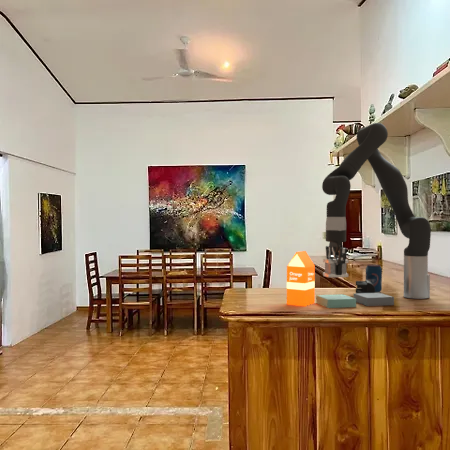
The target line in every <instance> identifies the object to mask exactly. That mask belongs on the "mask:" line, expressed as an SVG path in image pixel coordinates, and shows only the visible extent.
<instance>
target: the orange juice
mask: <svg viewBox="0 0 450 450" xmlns="http://www.w3.org/2000/svg"><path fill="white" fill-rule="evenodd" d="M315 266H316V265H315V264H314V262H313V260H312V259H311V257H310V256H309V255H308V253H307V251H306V250H302V251H296V252H295V253H294V255H293V257H292V258H291V260H290V261H289V262H288V264H287V265H286V305H289V306H297V307H307V305H308V306H310V304H311V305H313V304H315V303H316V302H315V299H316V296H315V293H316V292H315V291H316V290H315V287H316V285H315V284H316V283H315V281H316V280H315V278H316V277H315V276H316V274H315V270H316V268H315Z"/></svg>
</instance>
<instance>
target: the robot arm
mask: <svg viewBox="0 0 450 450" xmlns="http://www.w3.org/2000/svg"><path fill="white" fill-rule="evenodd" d="M388 135H389V134H388V129H387V127H386V126H385V124H383V123H381V122H374V123H371V124H369V125H367V126H364V127H362V128H360V129H358V130H357V131H356V141H357V144H358V146H357V147H356V148H355V149H354V150H352V151H351V152H350V153H349V154H347V156H346V157H344V159H343V160H342V162H341V163H340V164H339V166H337V168H335V169H334V170H332V171H331V172H330V173H329V174H327V176H325V178H324V180H322V181H323V182H322V185H321V188H322V189H321V190H322V191H323V193H324V194H326V195H328V196H335V197H334V199H333V200H331V201H328V202H327V203H326V217H325V218H326V221H325V241H326V242H328V243H329V244H328V245H326V246H325V255H326V256H325V259H335V260H336V275H342V265H343V264H345V261H346V259H347V251H348V248H347V247H344V245H343V243H345V242H346V241H347V219H346V215H347V214H346V213H347V212H346V211H347V210H346V206H347V202H348V200H349V197H350V192H351V188H352V187H351V186H352V185H351V180H352V179H354V177H356V175H357V173H358V172H359V171H360V169H361V168H362V167H363V165H364V164H366V161H368V163H369V164H370V166H371V169H372V170H373V172H374V174H375V175H376V178H377V181H378V182H379V185H380V187H381V189H382V191H383V193H384V194H385V197H386V198H387V201H388V203H389V205H390V207H391V209H392V212H393V214H394V216H395V218H396V223H397V224H398V228H399V230H400V232H401V234H402V235H403V236H404V237H405V238H406V239H408V245H407V246H406V247H405V248H404V250H403V297H404V298H408V299H418V300H421V299H422V300H423V299H429V298H430V297H431V296H430V295H431V291H430V290H431V282H430V281H431V276H430V274H428V273H429V272H428V271H429V270H428V269H429V268H428V264H429V261H428V260H429V257H428V256H429V250H430V248H431V236H432V231H431V230H432V227H431V224H430V222H429V220H428V219H427V218H425V217H422V216H416V215H415V214H414V213H413V210H412V209H411V206H410V204H409V203H410V202H409V196H408V195H409V192H408V185H407V183H406V180H405V179H404V176H403V174H402V173H401V171H400V169H399V168H398V167H396V166H395V165H394V164H392V163H391V162H390V161H388V160H387V159H386V158H385V157H384V156H383V155H382V154H381V152H380V150H379V148H380V147H382V146H383V144H385V142H386V141H387V139H388Z"/></svg>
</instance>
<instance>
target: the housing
mask: <svg viewBox="0 0 450 450" xmlns="http://www.w3.org/2000/svg"><path fill="white" fill-rule="evenodd" d="M322 262H323V263H324V272H322V276H323V277H326V278H349V273H347V264H349V259H347V258H346V261H345V264H343V265H342V275H336V260H335V259H327V258H323V259H322Z"/></svg>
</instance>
